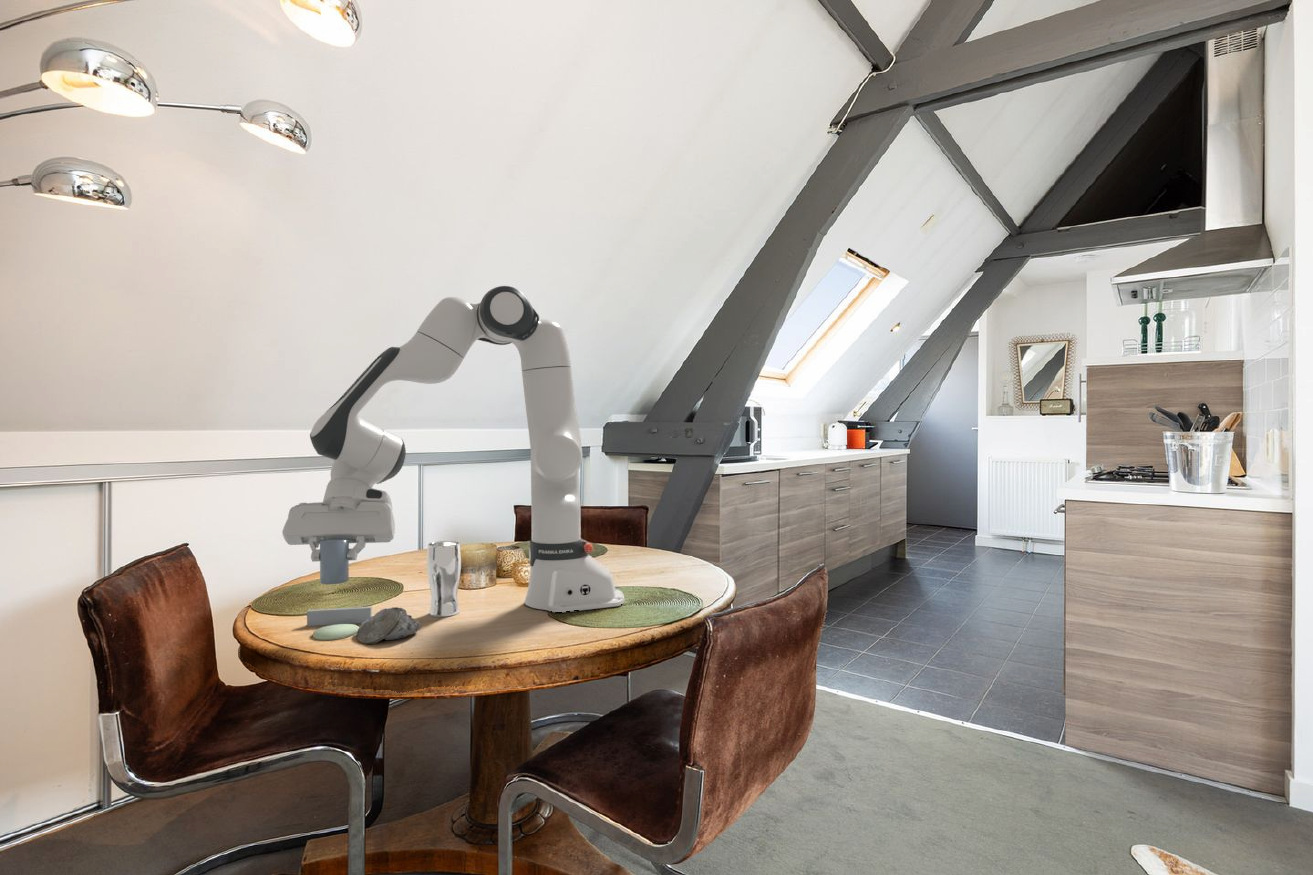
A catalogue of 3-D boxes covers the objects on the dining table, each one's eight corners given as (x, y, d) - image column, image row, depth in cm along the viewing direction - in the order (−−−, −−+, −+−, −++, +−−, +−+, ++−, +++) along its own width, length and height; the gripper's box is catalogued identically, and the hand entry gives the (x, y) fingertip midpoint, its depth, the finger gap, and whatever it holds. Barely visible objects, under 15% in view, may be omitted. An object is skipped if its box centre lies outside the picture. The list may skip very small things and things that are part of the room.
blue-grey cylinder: (351, 577, 131) (351, 537, 131) (345, 583, 126) (345, 541, 126) (324, 578, 130) (324, 538, 130) (316, 584, 125) (316, 542, 125)
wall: (371, 621, 136) (371, 606, 136) (370, 622, 135) (370, 607, 135) (308, 624, 134) (308, 609, 133) (307, 626, 133) (306, 611, 132)
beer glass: (451, 618, 137) (450, 547, 137) (420, 616, 139) (420, 545, 139) (467, 609, 144) (466, 541, 144) (438, 607, 146) (437, 540, 145)
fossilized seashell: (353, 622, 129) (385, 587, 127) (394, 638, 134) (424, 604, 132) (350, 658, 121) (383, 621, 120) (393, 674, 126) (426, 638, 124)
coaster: (363, 625, 133) (363, 622, 133) (353, 638, 125) (353, 635, 125) (320, 628, 131) (320, 625, 131) (307, 641, 123) (307, 638, 123)
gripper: (288, 493, 132) (270, 551, 123) (396, 492, 136) (386, 548, 127) (295, 512, 137) (278, 570, 127) (400, 511, 141) (391, 566, 131)
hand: (333, 559), depth 127 cm, fingers closed on blue-grey cylinder, 5 cm apart
